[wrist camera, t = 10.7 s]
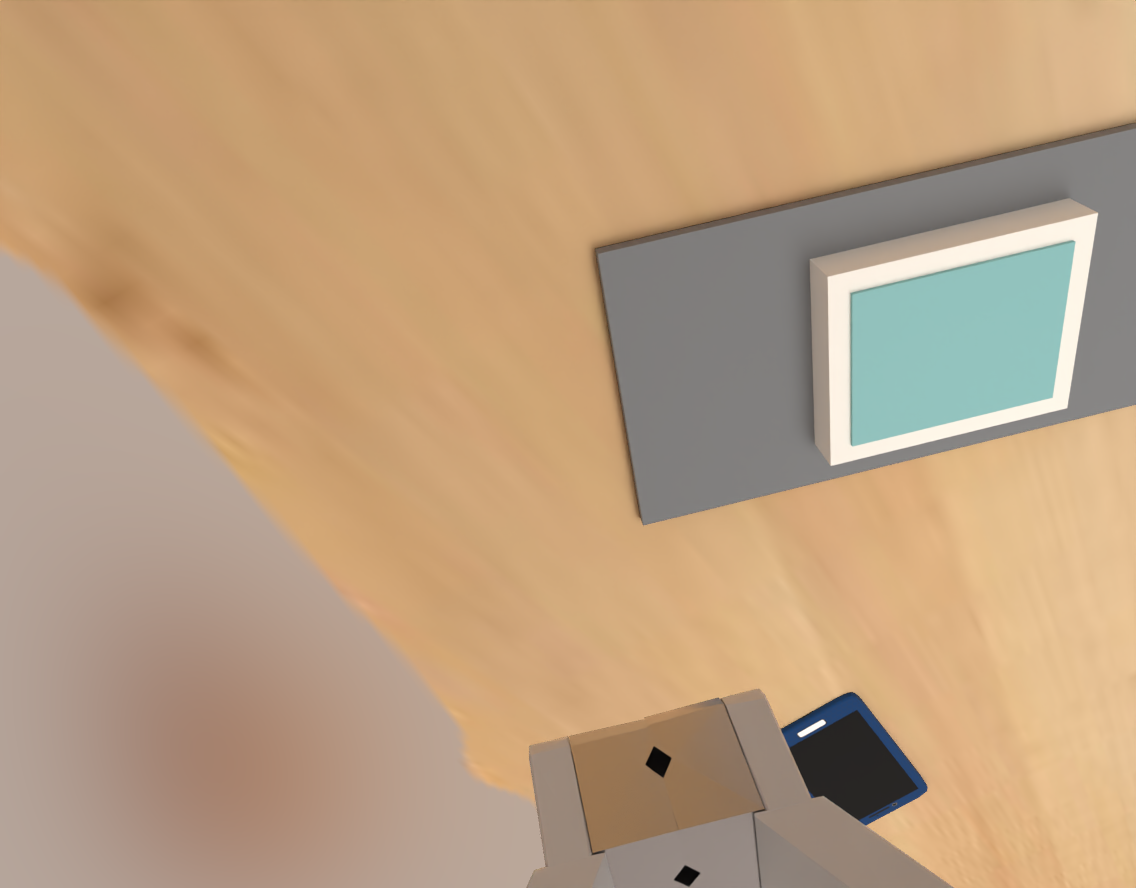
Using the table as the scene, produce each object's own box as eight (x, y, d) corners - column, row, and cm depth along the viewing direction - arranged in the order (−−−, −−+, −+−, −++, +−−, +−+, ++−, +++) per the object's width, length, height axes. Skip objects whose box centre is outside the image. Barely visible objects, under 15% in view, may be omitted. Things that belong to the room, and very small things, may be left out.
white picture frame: (829, 278, 38) (1101, 214, 39) (809, 259, 40) (1069, 198, 41) (832, 468, 44) (1069, 410, 44) (814, 443, 46) (1042, 388, 46)
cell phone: (850, 683, 58) (855, 693, 57) (927, 782, 65) (932, 791, 65) (751, 739, 59) (755, 749, 59) (837, 830, 67) (841, 839, 66)
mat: (595, 248, 39) (597, 254, 38) (1259, 93, 40) (1270, 96, 39) (640, 518, 47) (643, 525, 47) (1188, 384, 48) (1197, 389, 48)
